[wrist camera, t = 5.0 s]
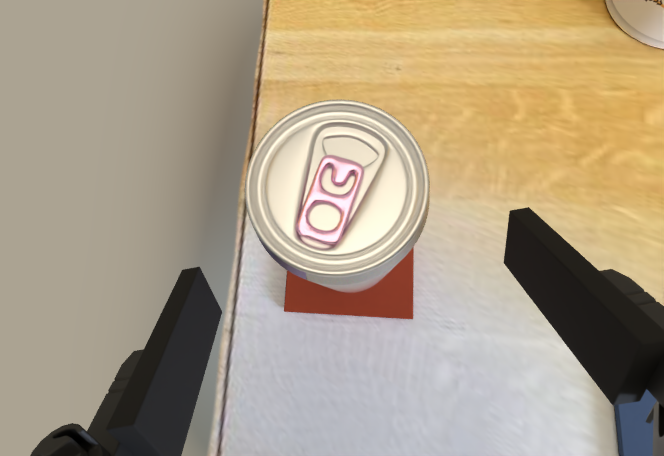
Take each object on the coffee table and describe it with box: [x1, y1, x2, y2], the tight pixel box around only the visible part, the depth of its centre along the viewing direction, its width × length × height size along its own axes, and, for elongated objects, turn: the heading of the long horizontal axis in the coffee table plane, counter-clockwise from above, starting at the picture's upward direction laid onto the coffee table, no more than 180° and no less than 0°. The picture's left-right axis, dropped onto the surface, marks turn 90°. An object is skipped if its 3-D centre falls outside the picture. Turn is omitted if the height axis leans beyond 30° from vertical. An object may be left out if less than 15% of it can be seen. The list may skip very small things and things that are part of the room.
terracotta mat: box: [284, 248, 413, 319], centre depth 25 cm, size 9×9×1 cm
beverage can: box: [245, 100, 430, 293], centre depth 18 cm, size 6×6×15 cm
